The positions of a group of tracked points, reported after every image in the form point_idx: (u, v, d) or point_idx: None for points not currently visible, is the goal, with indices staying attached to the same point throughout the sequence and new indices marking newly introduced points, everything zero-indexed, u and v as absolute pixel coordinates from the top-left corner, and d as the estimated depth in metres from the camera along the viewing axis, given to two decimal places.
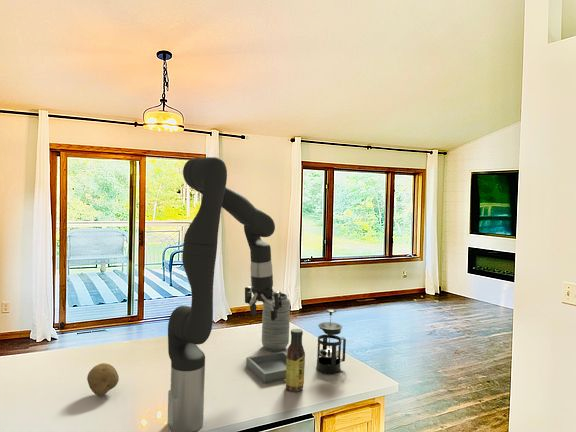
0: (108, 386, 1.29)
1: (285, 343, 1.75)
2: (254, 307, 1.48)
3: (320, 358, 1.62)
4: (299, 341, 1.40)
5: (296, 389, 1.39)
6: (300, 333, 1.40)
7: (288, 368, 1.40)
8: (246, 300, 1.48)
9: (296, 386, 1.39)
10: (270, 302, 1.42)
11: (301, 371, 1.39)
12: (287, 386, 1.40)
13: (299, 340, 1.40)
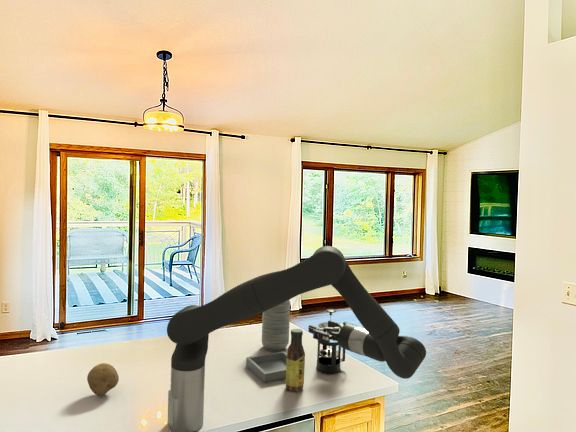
0: (108, 386, 1.29)
1: (285, 343, 1.75)
2: (334, 326, 1.33)
3: (320, 358, 1.62)
4: (299, 341, 1.40)
5: (296, 389, 1.39)
6: (300, 333, 1.40)
7: (288, 368, 1.40)
8: (345, 322, 1.33)
9: (296, 386, 1.39)
10: (325, 330, 1.25)
11: (301, 371, 1.39)
12: (287, 386, 1.40)
13: (299, 340, 1.40)
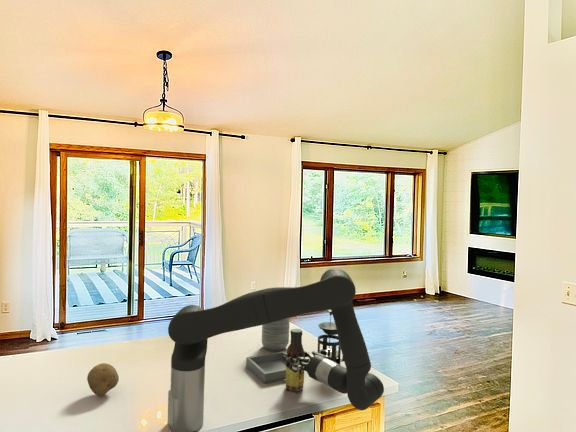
0: (108, 386, 1.29)
1: (285, 343, 1.75)
2: None
3: None
4: (299, 341, 1.40)
5: (296, 389, 1.39)
6: (300, 333, 1.40)
7: None
8: (314, 352, 1.42)
9: (296, 386, 1.39)
10: (296, 359, 1.36)
11: (301, 371, 1.39)
12: (287, 386, 1.40)
13: (299, 340, 1.40)
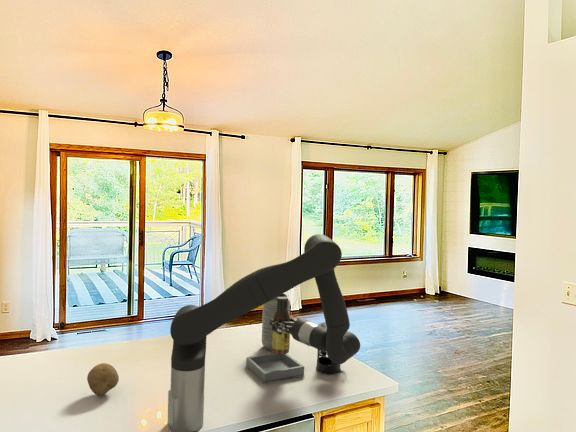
0: (108, 386, 1.29)
1: None
2: None
3: (320, 358, 1.62)
4: (284, 307, 1.49)
5: (282, 352, 1.48)
6: (285, 300, 1.49)
7: (274, 332, 1.49)
8: (299, 318, 1.52)
9: (282, 350, 1.48)
10: (281, 323, 1.45)
11: (286, 335, 1.49)
12: (273, 350, 1.49)
13: (285, 307, 1.49)
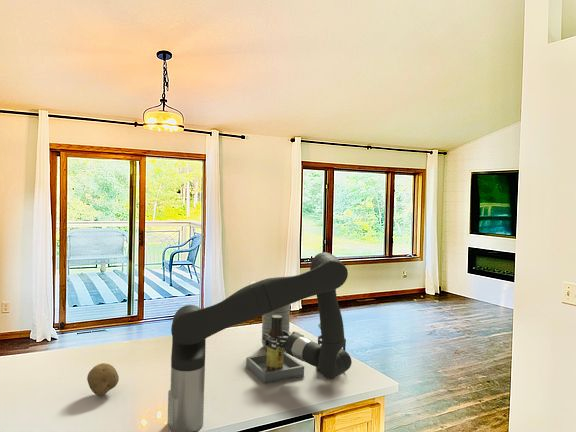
0: (108, 386, 1.29)
1: None
2: (285, 335, 1.56)
3: None
4: (279, 326, 1.53)
5: None
6: (280, 319, 1.53)
7: (269, 350, 1.52)
8: (294, 332, 1.56)
9: (276, 367, 1.52)
10: (275, 338, 1.49)
11: (280, 353, 1.52)
12: (268, 367, 1.53)
13: (279, 325, 1.53)
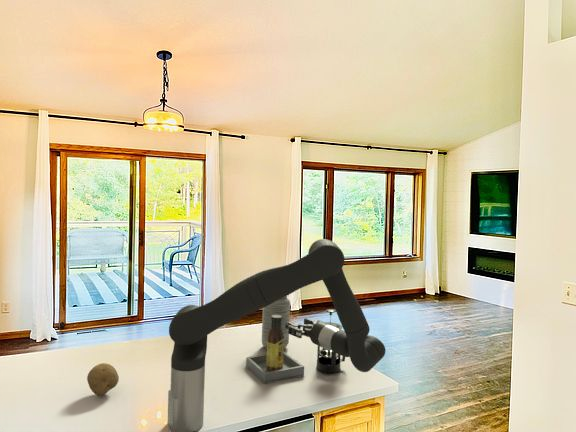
0: (108, 386, 1.29)
1: (285, 343, 1.75)
2: (309, 323, 1.46)
3: (320, 358, 1.62)
4: (278, 326, 1.53)
5: None
6: (279, 318, 1.53)
7: (268, 350, 1.53)
8: (319, 321, 1.45)
9: (276, 367, 1.52)
10: (299, 327, 1.38)
11: (280, 353, 1.52)
12: (267, 367, 1.53)
13: (279, 325, 1.53)
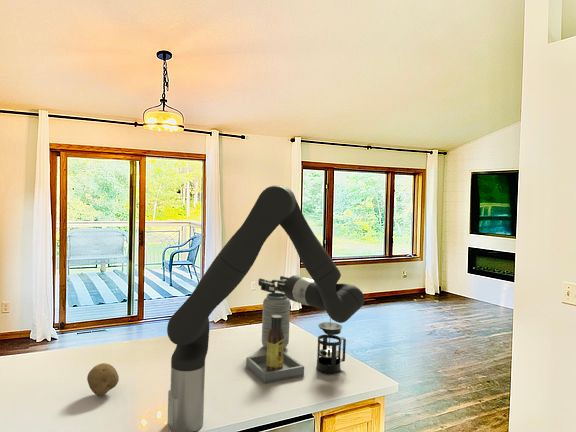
0: (108, 386, 1.29)
1: (285, 343, 1.75)
2: None
3: (320, 358, 1.62)
4: (278, 326, 1.53)
5: None
6: (279, 318, 1.53)
7: (268, 350, 1.53)
8: None
9: (276, 367, 1.52)
10: (273, 282, 1.26)
11: (280, 353, 1.52)
12: (267, 367, 1.53)
13: (279, 325, 1.53)
